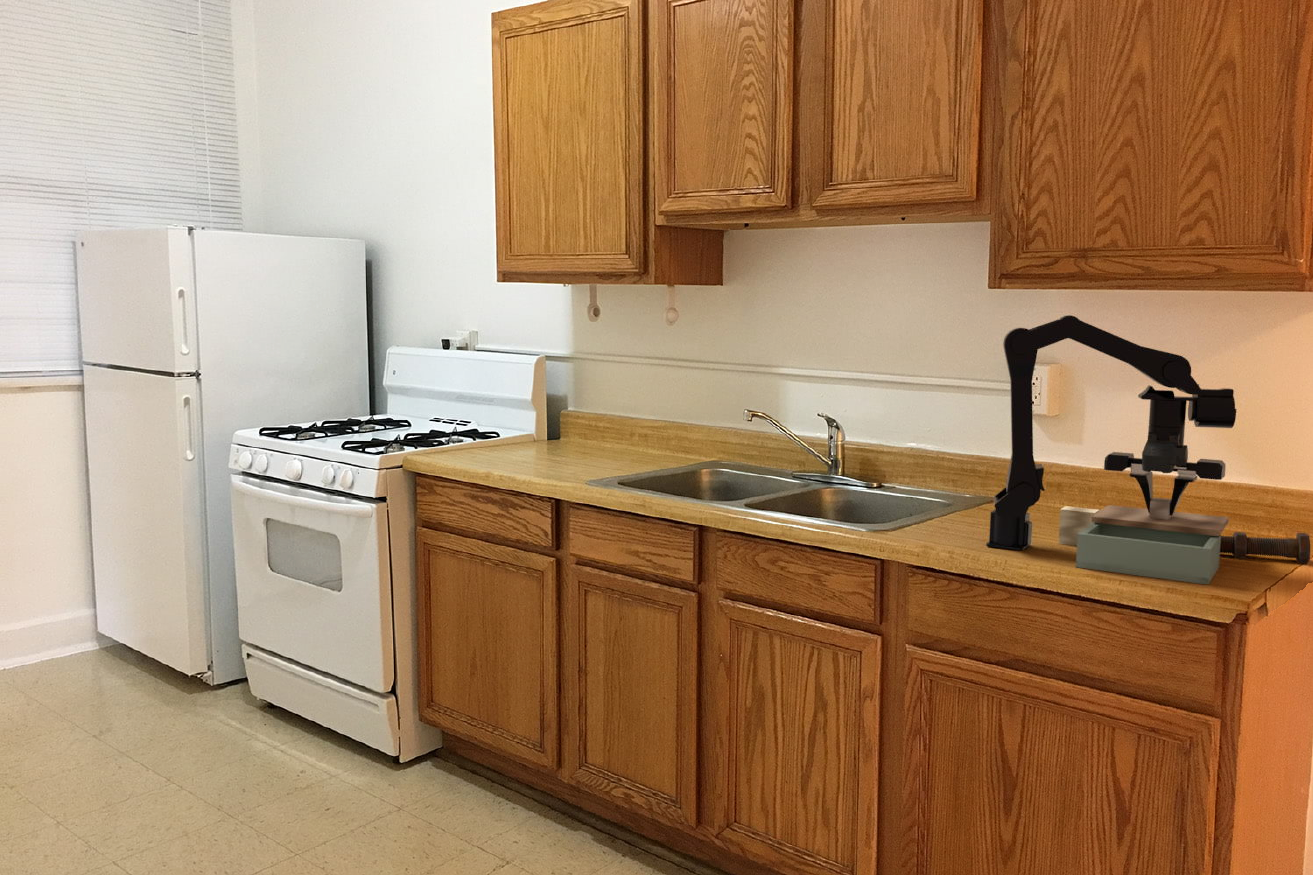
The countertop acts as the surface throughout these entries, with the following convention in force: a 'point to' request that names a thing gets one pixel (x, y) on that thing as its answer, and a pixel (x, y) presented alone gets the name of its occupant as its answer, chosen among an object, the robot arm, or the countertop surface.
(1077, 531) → the block
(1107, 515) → the lid
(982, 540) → the countertop surface
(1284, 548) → the bolt
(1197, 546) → the grey tray
